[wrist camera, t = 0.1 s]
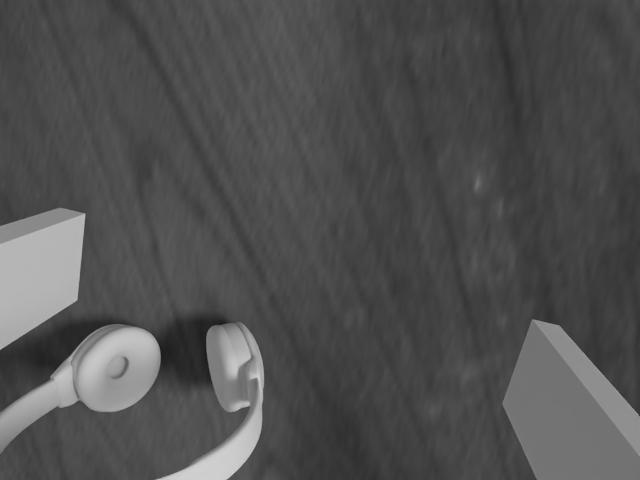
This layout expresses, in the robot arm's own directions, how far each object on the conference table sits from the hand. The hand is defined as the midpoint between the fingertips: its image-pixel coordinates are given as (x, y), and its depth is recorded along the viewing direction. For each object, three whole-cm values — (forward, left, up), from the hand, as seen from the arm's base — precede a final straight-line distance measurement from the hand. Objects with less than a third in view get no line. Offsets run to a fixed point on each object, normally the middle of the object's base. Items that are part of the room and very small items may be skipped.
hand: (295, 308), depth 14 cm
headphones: (+18, -10, -28) cm, 35 cm away
